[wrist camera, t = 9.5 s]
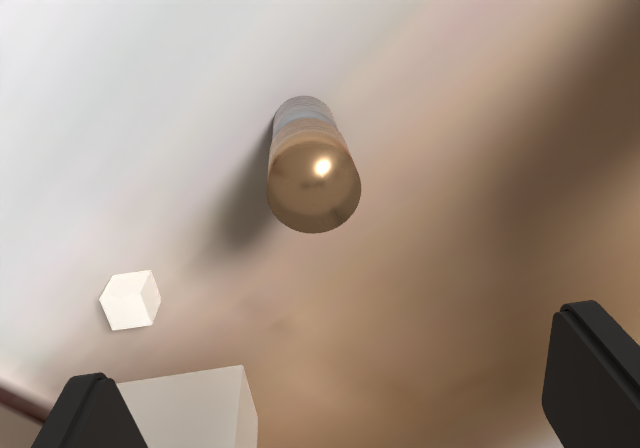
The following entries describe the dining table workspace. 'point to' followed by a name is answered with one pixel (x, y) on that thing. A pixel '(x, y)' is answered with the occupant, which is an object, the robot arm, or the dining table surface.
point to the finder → (194, 409)
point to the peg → (310, 168)
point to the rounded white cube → (131, 300)
